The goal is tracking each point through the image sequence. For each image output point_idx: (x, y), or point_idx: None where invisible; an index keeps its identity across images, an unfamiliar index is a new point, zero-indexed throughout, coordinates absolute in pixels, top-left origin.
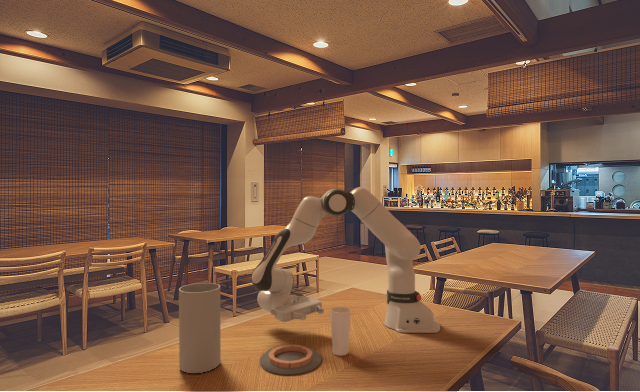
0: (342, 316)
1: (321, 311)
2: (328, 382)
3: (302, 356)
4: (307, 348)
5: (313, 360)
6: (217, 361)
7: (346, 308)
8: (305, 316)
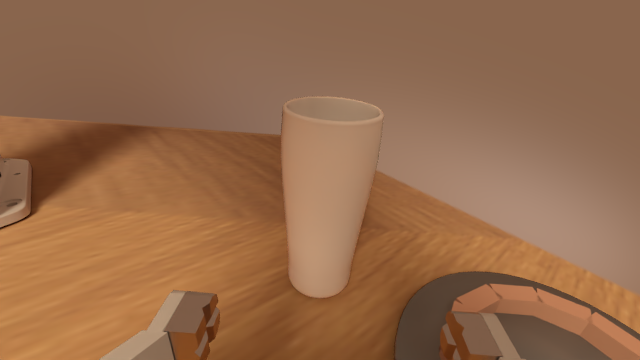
0: (359, 117)
1: (213, 303)
2: (471, 225)
3: None
4: None
5: (459, 296)
6: None
7: (288, 106)
8: (451, 319)
